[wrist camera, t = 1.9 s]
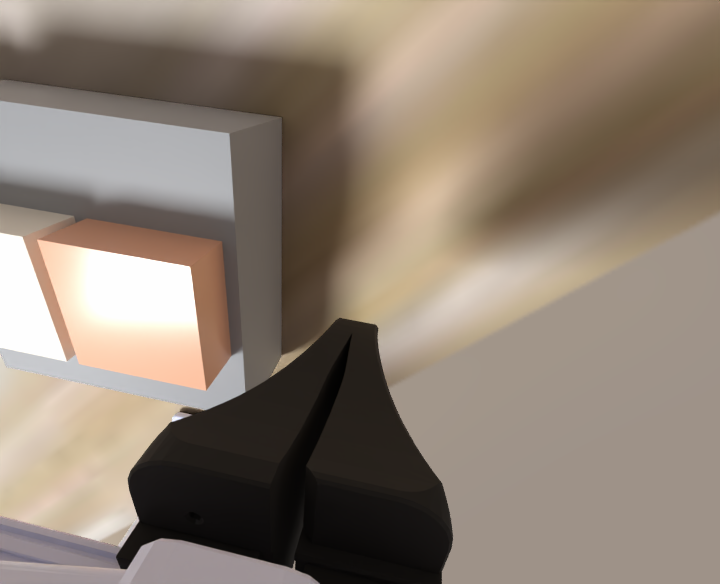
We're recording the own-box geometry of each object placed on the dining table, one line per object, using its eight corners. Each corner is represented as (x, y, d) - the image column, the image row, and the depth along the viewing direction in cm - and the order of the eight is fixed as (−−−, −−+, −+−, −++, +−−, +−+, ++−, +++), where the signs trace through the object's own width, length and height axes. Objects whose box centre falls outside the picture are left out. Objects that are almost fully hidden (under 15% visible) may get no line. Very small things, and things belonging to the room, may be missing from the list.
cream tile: (105, 331, 16) (66, 361, 15) (-2, 309, 17) (-52, 336, 15) (73, 215, 14) (22, 236, 12) (-52, 194, 14) (-118, 211, 13)
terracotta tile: (231, 355, 16) (206, 390, 14) (117, 333, 16) (79, 364, 15) (222, 241, 13) (190, 266, 12) (87, 218, 14) (36, 239, 12)
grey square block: (281, 355, 21) (247, 418, 18) (80, 316, 23) (6, 367, 19) (281, 117, 15) (229, 133, 11) (6, 79, 16) (-126, 82, 13)
